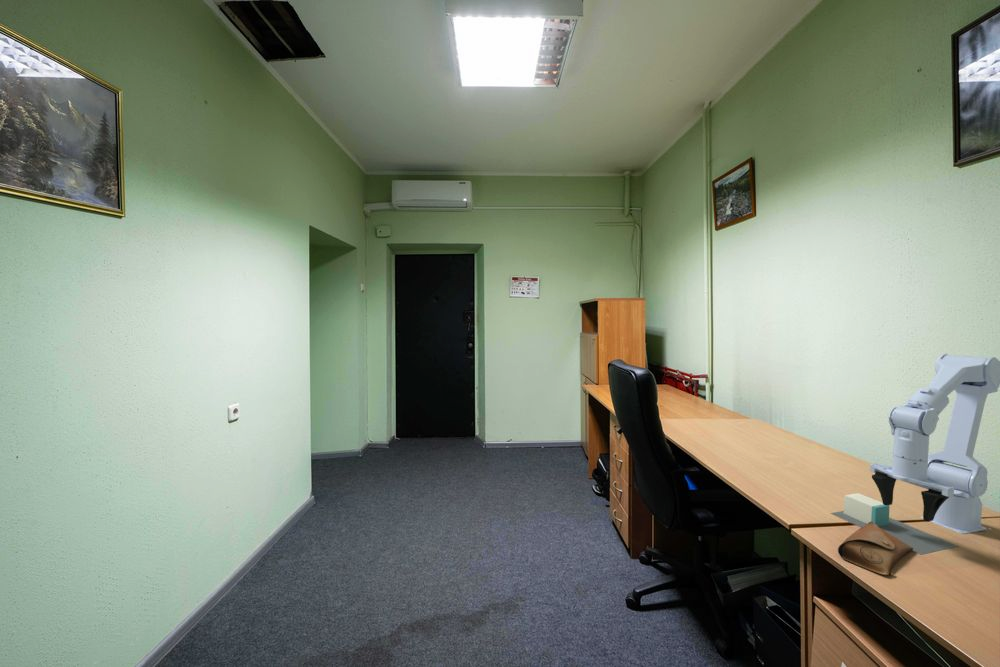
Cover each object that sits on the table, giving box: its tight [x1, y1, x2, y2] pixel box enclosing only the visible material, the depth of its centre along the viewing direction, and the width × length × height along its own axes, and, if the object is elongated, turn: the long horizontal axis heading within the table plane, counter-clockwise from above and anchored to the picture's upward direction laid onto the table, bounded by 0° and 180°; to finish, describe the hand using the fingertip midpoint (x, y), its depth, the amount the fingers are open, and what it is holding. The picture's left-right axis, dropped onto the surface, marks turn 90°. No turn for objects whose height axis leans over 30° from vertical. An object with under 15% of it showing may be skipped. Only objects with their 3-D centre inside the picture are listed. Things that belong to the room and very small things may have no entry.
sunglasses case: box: [837, 521, 914, 576], centre depth 86 cm, size 18×7×7 cm, turn 121°
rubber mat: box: [830, 510, 959, 556], centre depth 96 cm, size 13×18×1 cm
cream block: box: [843, 492, 891, 526], centre depth 100 cm, size 5×5×7 cm
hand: (907, 512), depth 92 cm, fingers open, 7 cm apart
